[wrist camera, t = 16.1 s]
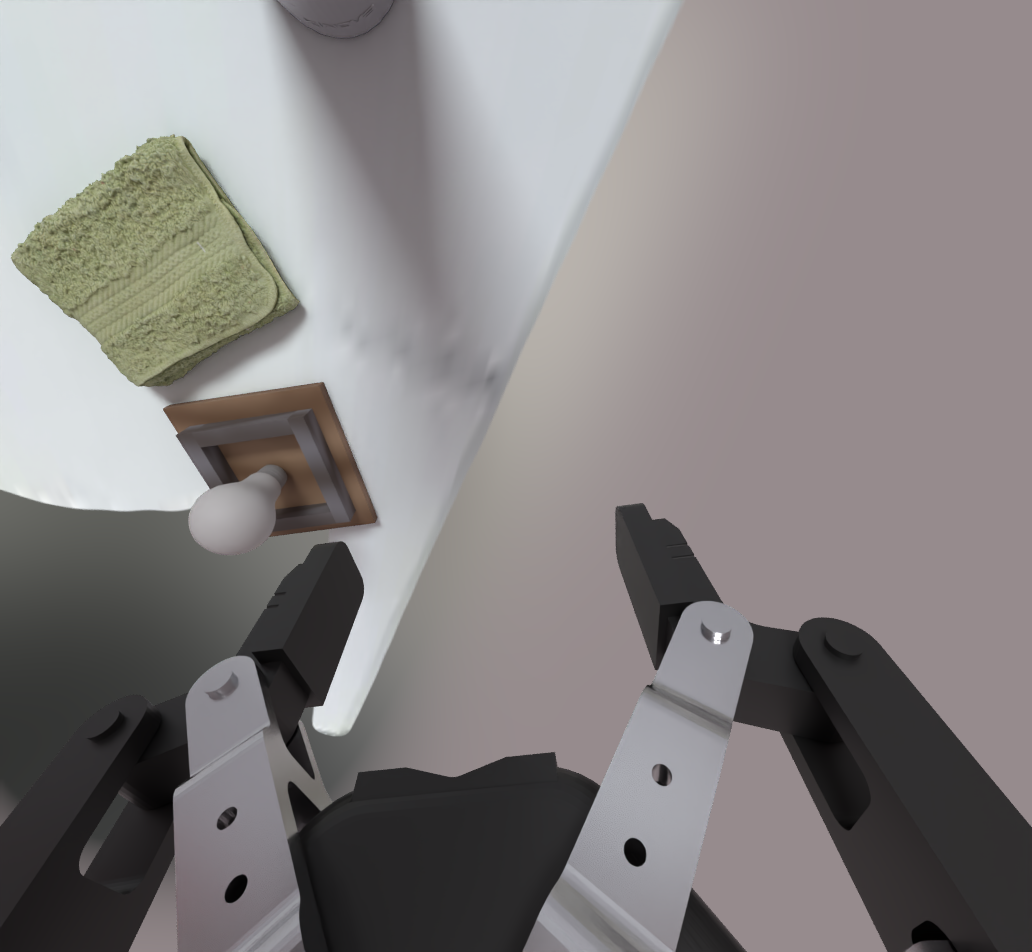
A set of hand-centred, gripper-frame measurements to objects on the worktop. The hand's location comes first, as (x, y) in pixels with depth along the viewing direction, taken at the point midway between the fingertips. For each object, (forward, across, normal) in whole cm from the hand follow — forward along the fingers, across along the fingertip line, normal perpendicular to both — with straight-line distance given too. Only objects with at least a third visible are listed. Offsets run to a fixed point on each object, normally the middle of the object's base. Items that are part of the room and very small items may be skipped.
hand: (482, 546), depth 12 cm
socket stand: (+28, +24, +10) cm, 38 cm away
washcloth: (+29, +25, -8) cm, 39 cm away
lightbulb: (+27, +24, +10) cm, 38 cm away
